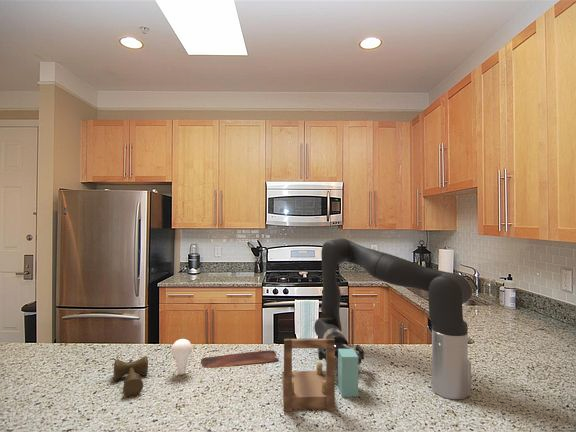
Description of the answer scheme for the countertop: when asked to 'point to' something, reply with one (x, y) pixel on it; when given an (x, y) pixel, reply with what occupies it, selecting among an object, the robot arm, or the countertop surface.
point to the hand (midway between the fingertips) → (344, 361)
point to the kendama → (131, 374)
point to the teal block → (348, 372)
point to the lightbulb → (181, 354)
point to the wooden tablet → (239, 359)
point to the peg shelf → (309, 378)
